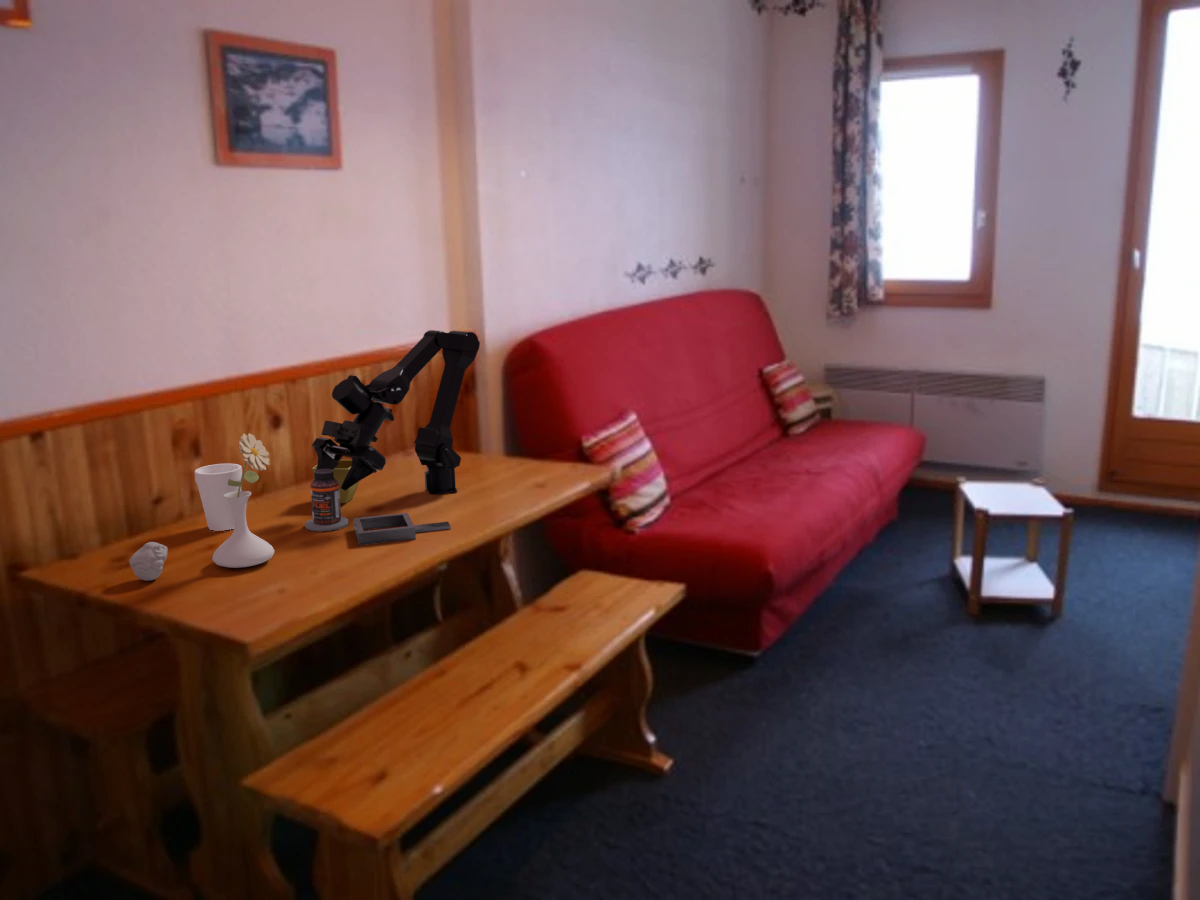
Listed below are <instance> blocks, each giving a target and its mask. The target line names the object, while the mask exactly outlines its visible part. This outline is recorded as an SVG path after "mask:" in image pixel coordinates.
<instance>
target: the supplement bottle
mask: <svg viewBox="0 0 1200 900" xmlns="http://www.w3.org/2000/svg"><path fill="white" fill-rule="evenodd" d="M333 476H334V472H333V470H332V469H319V470H316V471H315V472H314V476H313V480H312V481H311V483H310V497H311V499H310V500H311V510H312V511H311V512H312V519H313V521H314V523H316V524H320V525H329V524H334V523H337V522H339V521H340V520H341V516H342V511H341V503H340V493H339V482H338V480H336V479H335V478H334V477H333ZM314 477H315V479H314Z"/></svg>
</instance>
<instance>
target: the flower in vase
mask: <svg viewBox="0 0 1200 900" xmlns="http://www.w3.org/2000/svg"><path fill="white" fill-rule="evenodd" d="M238 444H239V445H238V448H239V450H240V454H241V455H242V459H243V460H244V461H245V462H244V464H243V468H242V477H241V481H240V482H237V481H233V480H231V479H229V480H228V485H229V486H236V487H238V486H239V489H238V491H234V492H229V493H226V494H225V495H224V498H225V499H226V500H227V501H228V502H229V504H230V506H231V509H232V513H233V517H234V530H232V531H233V532H232V533H231V535H230V536H229V537H228V538H227V539H226V540H225V541H224V542H223V543H221V545H219V546H218V547H217V548H216V550H215V551H214V552H213V554H212V558H211V559H212V562H213V563H215V564H216V565H217V566H221V567H223V568H224V567H225V568H233V569H240V568H247V567H252V566H257V565H259V564H262V563H265V562H267V561H269V560H270V559H271V558H272V557H273V556H274V554H275V551H276V550H275V549H274V547H273V546H272V545H271V544H270V543H269V542H268V541H266V540H265V539H262V538H261V537H259V536H257V535H255V534H254V533H252V531H250V529H249V527H248V523H247V504H248V500H249V498H250V496H251V495H252V492H251V491H249V490H242V486H243V480H245V481H246V482H248V483H249V484H255V483H257V481H259V478H260V476H259V474H258V473H257V472H255V471H252V470H246V467H247V465H249V466H250V467H251V469H253V470H254V469H255V470H257V471H266V470H267V467H266V466H270V461H271V460H270V459H269V457H268V456H270V453H269V452H268V450H266V447H265V446H264V445H263V442H262V440H261V439H260V440H259V439H256V437H255V435H254V434H251V433H248V434H245V433H243V434H242V436H240V439H239V440H238ZM240 489H241V491H240Z"/></svg>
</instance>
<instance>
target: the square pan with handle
mask: <svg viewBox="0 0 1200 900" xmlns="http://www.w3.org/2000/svg"><path fill="white" fill-rule="evenodd" d="M352 519H353V529H354V530H355V531H354V532H355V533H354V534H355V537H356V540H357V544H358V543H359V544H358V546H367V545H366V544H368V545H375V544H374V543H377V544H383V542H385V543H391V542H392V543H395V542H400V541H401V542H403V541H410V540H416V539H417V535H416V534H417V533H419V534H420V533H427V532H436V531H445V530H451V524H450V522H449V521H441V522H430V523H422V524H414V522H413V521H412V519H411V517H410V515H409V513H408V512H399V513H393V514H383V515H382V514H381V515H374V516H373V515H372V516H363V517H353V518H352ZM387 527H389V528H387ZM374 528H380V529H374ZM367 529H370V530H367Z"/></svg>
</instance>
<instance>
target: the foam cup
mask: <svg viewBox="0 0 1200 900" xmlns="http://www.w3.org/2000/svg"><path fill="white" fill-rule="evenodd" d="M242 473H243V468H242V465H240V464H237V463H216V464H210V465H205V466H200V467H198V468H196V469H195V470H194V479H195V480H194V481H195V483H196V485H197V488H198V492H199V493H198V494H199V496H200V499H201V504H202V507H203V511H204V515H205V520H206V523H207V526H208V527H207V528H208V530H209V529H210V530H209V531H211V530H215V531H219V530H220V531H222V530H223V531H224V530H229V529H230V531H232V530H231V529H234V517H233V513H232V509H231V506H230V504H229V502H228V501H227V500H226V499H225V498H224V495H225V494H226V493H229V492H234V491H238V489H239V486H238V487H236V486H229V485H228V480H229V479H231V480H233V481H237V482H240V481H241V477H242ZM240 491H242V488H241V489H240ZM215 531H214V532H215ZM224 532H225V531H224Z"/></svg>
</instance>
